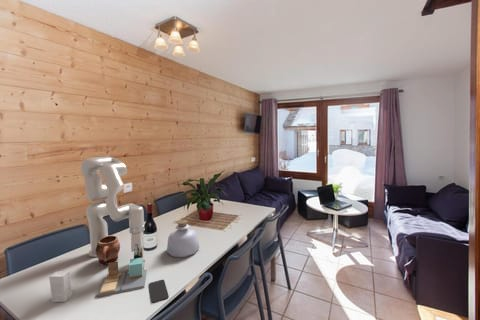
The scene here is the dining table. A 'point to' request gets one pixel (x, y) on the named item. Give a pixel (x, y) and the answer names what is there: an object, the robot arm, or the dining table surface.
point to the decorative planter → (107, 249)
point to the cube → (136, 267)
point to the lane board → (122, 284)
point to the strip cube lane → (143, 263)
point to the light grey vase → (182, 241)
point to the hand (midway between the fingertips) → (138, 257)
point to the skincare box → (60, 286)
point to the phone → (158, 291)
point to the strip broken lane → (112, 278)
